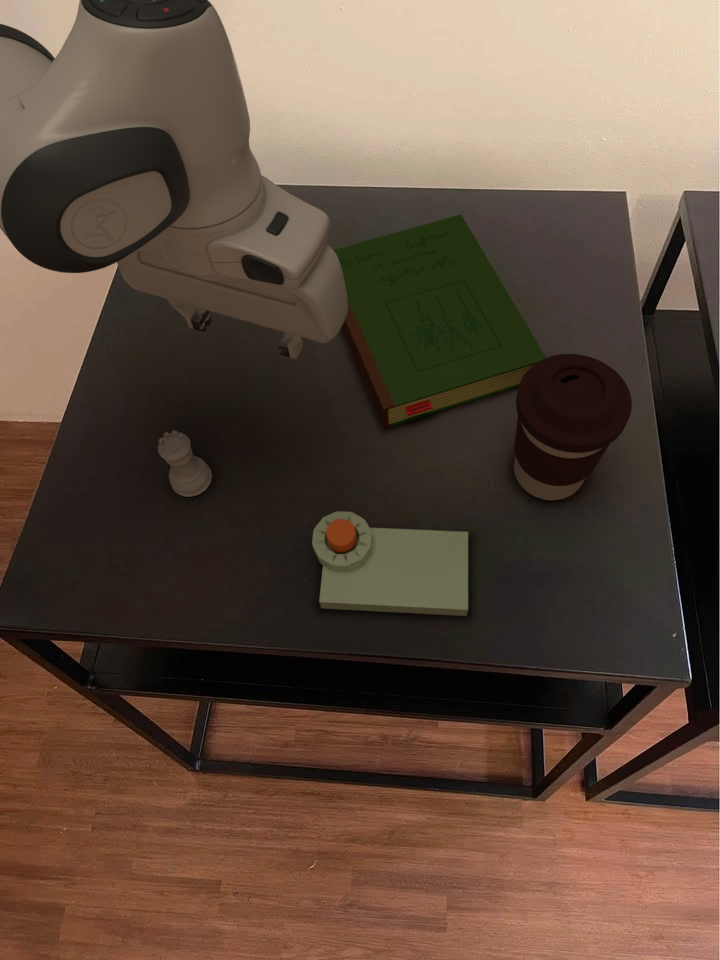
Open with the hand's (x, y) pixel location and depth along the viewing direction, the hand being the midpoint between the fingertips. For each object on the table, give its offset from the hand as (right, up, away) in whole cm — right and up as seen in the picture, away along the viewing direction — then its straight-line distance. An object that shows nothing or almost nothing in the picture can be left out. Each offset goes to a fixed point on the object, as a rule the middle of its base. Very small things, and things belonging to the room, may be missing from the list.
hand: (246, 338), depth 66 cm
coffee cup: (+30, -12, +9) cm, 34 cm away
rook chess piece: (-7, -13, +11) cm, 19 cm away
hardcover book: (+18, +5, +20) cm, 27 cm away
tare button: (+9, -19, +3) cm, 21 cm away
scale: (+14, -22, +5) cm, 27 cm away
